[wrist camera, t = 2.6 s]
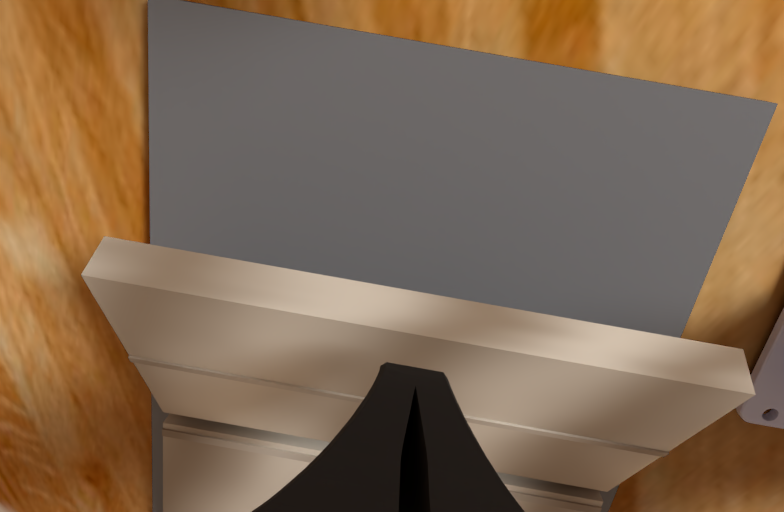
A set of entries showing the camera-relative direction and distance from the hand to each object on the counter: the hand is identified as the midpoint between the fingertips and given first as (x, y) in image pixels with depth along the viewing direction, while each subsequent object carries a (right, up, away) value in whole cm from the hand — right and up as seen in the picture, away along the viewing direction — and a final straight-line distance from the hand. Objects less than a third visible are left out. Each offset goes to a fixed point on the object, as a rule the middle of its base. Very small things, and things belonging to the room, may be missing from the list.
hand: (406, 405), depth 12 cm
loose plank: (0, 0, +5) cm, 5 cm away
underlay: (0, -1, +9) cm, 9 cm away
